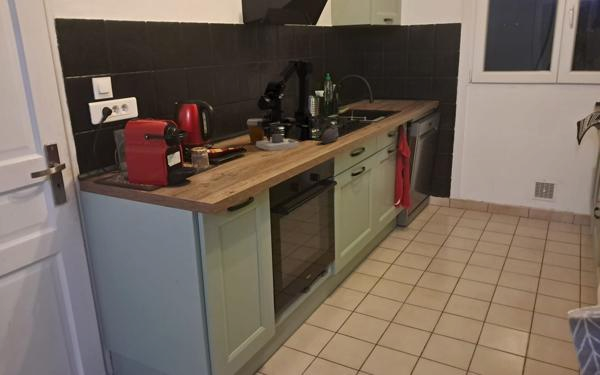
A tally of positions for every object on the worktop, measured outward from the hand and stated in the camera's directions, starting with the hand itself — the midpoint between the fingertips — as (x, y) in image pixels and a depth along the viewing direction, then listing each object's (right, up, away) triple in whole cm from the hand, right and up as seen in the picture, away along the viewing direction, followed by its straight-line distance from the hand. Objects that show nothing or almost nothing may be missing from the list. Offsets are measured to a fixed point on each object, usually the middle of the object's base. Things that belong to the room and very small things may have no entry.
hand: (277, 140), depth 239 cm
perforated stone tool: (+26, 0, +10) cm, 28 cm away
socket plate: (0, -3, +1) cm, 3 cm away
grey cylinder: (0, -3, +1) cm, 3 cm away
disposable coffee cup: (-11, -1, +10) cm, 15 cm away
